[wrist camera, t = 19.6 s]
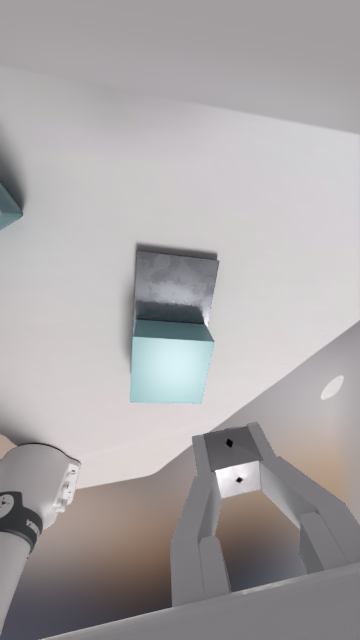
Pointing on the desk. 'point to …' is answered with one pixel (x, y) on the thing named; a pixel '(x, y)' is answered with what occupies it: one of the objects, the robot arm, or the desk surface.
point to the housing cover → (169, 362)
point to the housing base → (174, 288)
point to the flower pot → (8, 208)
